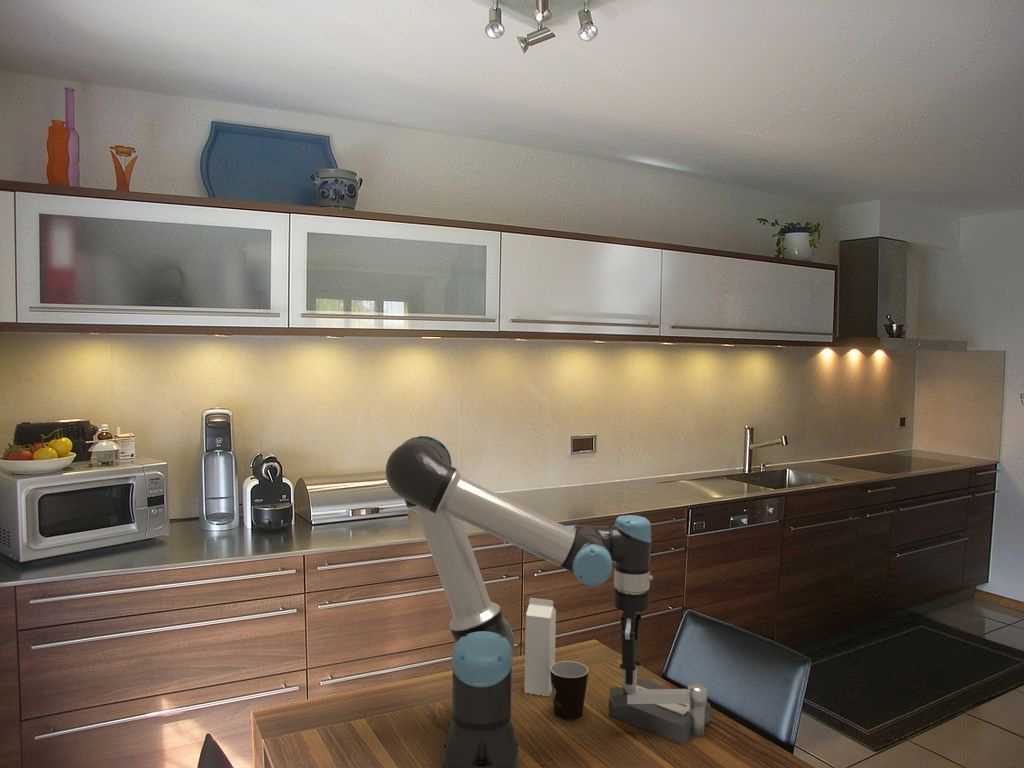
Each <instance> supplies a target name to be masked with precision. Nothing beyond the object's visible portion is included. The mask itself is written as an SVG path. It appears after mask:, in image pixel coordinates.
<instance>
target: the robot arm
mask: <svg viewBox="0 0 1024 768" xmlns="http://www.w3.org/2000/svg"><path fill="white" fill-rule="evenodd" d="M385 478H386V481H387V483H388V487H390V489H391V490H392V491H393V493H395V494H396V495H397V496H399V497H400V498H402V500H404V502H405V505H406V508H407V509H409V510H411V511H413V512H415V513H416V514H417V518H418V520H419V523H420V526H421V529H422V532H423V535H424V538H425V539H426V543H427V545H428V548H429V550H430V554H431V556H432V560H433V563H434V565H435V568H436V571H437V574H438V576H439V579H440V582H441V585H442V588H443V590H444V593H445V597H446V599H447V602H448V605H449V608H450V611H451V613H452V618H451V620H450V622H449V628H450V632H451V635H452V638H453V641H454V643H455V644H454V647H453V650H452V655H451V666H452V688H451V689H452V692H451V693H452V694H451V696H452V699H451V703H452V704H451V721H450V725H449V728H448V732H447V734H446V738H445V740H444V742H443V746H442V764H443V766H444V768H517V766H518V764H519V761H520V747H519V743H518V741H517V739H516V734H515V731H514V728H513V723H512V718H511V715H512V713H511V711H512V677H513V675H512V674H513V673H512V672H513V661H514V659H513V656H514V650H515V638H514V633H513V631H512V628H511V626H510V624H509V623H508V621H507V620H506V619H505V618H504V614H503V612H502V609H501V606H500V605H499V604H497V603H496V602H493V601H491V598H490V596H489V594H488V590H487V587H486V585H485V582H484V579H483V576H482V573H481V571H480V568H479V565H478V562H477V560H476V556H475V553H474V550H473V548H472V544H471V542H470V539H469V537H468V533H467V531H466V528H465V524H464V522H465V523H467V524H469V525H471V526H472V527H474V528H478V529H480V530H481V531H484V532H486V533H488V534H490V535H491V536H492V535H493V537H497V538H498V539H501V540H503V541H505V542H507V543H509V544H511V545H513V546H516V547H518V548H520V549H521V550H524V551H526V552H528V553H530V554H532V555H535V556H536V557H539V558H541V559H543V560H545V561H547V562H549V563H551V564H553V565H556V566H558V567H559V568H562V569H564V570H566V571H568V572H569V573H572V574H573V575H574V576H575V578H576V579H577V580H578V581H579V582H581V584H584V585H585V586H589V587H597V586H599V585H602V584H604V583H605V582H607V580H608V579H609V578H610V576H611V575H612V571H614V573H613V574H614V575H613V587H614V589H613V593H614V594H613V605H614V607H615V608H616V609H618V610H619V611H622V616H621V617H620V625H621V632H620V634H621V654H622V656H621V658H622V659H621V663H620V665H619V668H620V669H622V670H623V671H622V673H623V675H622V677H623V678H622V687H624V689H625V690H627V689H636V683H637V680H638V678H637V674H638V666H641V661H638V659H639V640H640V637H639V636H640V632H641V623H642V614H641V612H642V613H643V612H646V611H647V610H649V608H650V601H651V600H650V599H651V598H650V596H651V595H650V593H651V592H650V591H649V589H650V586H651V585H650V584H651V583H650V582H651V581H653V579H654V577H653V575H652V574H651V553H652V552H651V551H652V550H651V548H652V534H651V532H652V529H651V522H650V521H649V519H648V518H646V517H644V516H640V515H634V514H633V515H631V514H630V515H629V514H627V515H619V516H617V517H616V519H615V523H614V525H610V526H609V525H578V524H574V525H572V524H571V525H564V524H561V523H559V522H557V521H555V520H553V519H551V518H548V517H546V516H544V515H543V514H542V515H541V514H540V513H538V512H535V511H533V510H531V509H529V508H528V507H526V506H524V505H521V504H519V503H517V502H515V501H513V500H510V499H508V498H507V497H504V496H502V495H501V494H498V493H495V492H494V491H492V490H490V489H488V488H485V487H483V486H481V485H479V484H477V483H475V482H473V481H471V480H469V479H467V478H465V477H462V476H461V474H460V470H459V469H458V468H456V467H453V466H452V457H451V454H450V451H449V450H448V448H447V447H446V445H445V444H444V443H443V442H442V441H441V440H439V439H437V438H435V437H434V436H433V437H432V436H429V435H419V436H414V437H411V438H409V439H407V440H406V441H404V442H403V443H402V444H401V445H399V446H398V447H396V449H394V450H393V451H392V452H391V454H390V455H389V457H388V459H387V461H386V465H385ZM613 563H614V567H613ZM613 568H614V570H613ZM650 574H651V575H650Z"/></svg>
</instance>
